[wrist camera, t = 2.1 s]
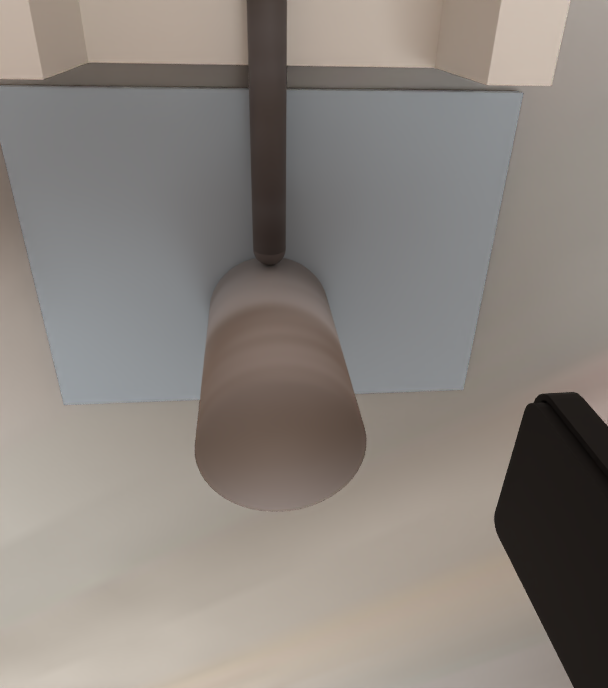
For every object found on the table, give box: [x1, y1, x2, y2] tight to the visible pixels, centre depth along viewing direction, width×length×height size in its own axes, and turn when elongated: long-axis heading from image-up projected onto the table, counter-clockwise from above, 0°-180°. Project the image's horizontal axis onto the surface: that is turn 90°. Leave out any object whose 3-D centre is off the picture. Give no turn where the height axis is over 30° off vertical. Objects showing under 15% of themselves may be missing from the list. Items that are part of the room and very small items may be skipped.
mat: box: [0, 85, 523, 405], centre depth 15 cm, size 8×12×1 cm
